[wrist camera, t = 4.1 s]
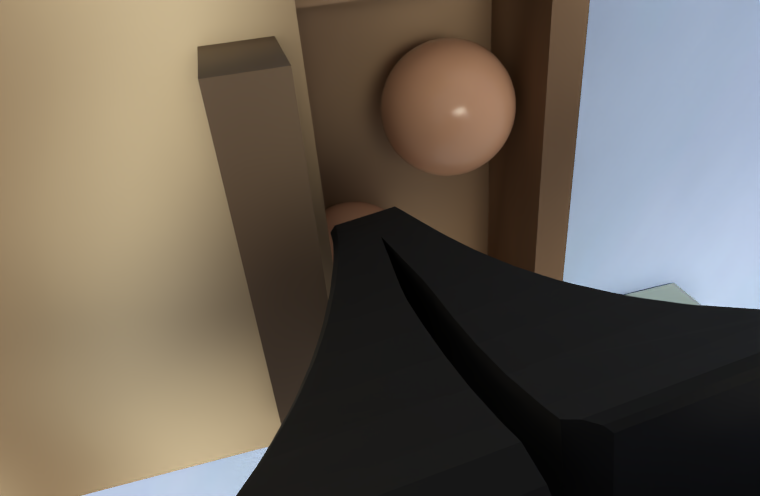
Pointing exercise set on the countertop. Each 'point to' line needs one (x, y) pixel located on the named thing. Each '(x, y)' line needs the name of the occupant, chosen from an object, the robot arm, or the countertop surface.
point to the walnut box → (496, 177)
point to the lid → (152, 236)
